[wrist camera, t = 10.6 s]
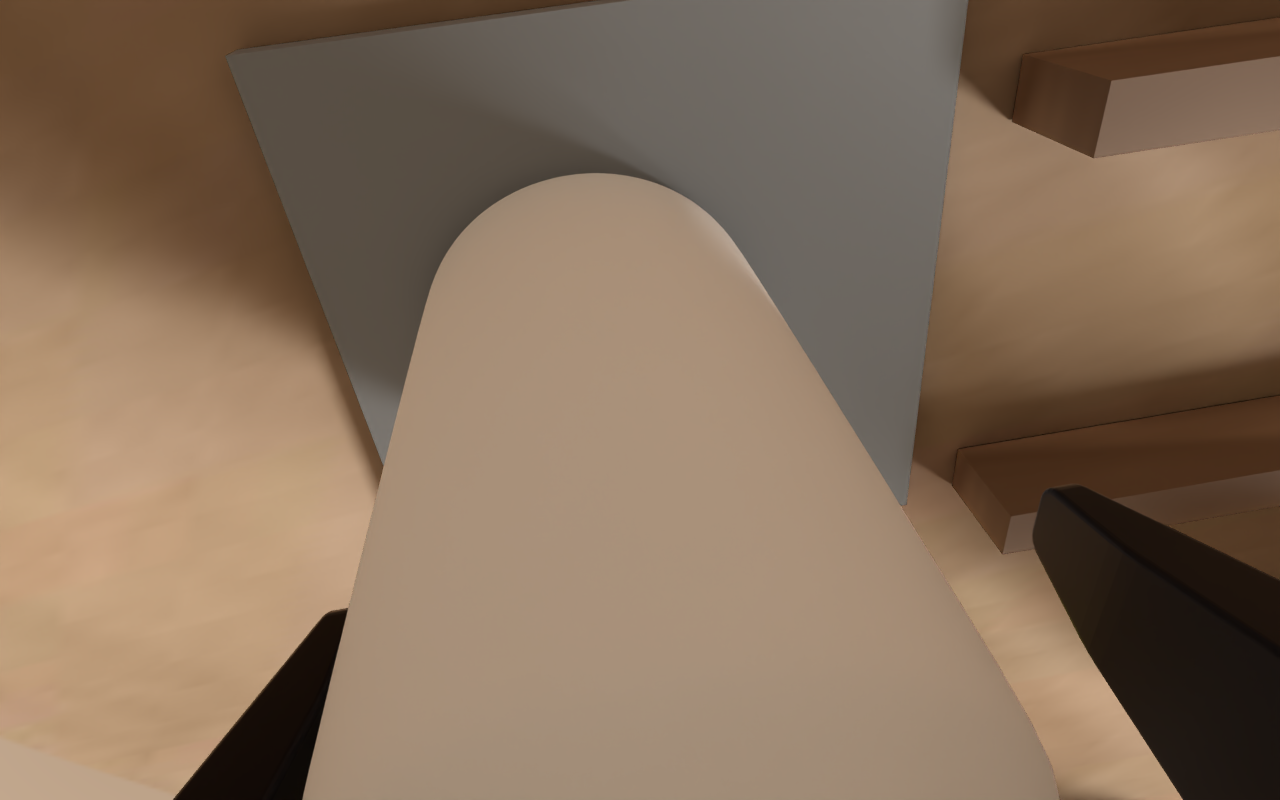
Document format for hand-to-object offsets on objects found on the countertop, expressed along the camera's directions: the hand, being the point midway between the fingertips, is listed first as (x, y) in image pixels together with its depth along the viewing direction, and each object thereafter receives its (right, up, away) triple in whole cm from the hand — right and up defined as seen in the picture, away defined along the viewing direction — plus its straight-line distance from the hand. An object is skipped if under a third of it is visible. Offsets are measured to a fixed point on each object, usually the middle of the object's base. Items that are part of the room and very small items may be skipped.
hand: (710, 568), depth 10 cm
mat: (-1, +4, +6) cm, 7 cm away
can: (-2, +4, +5) cm, 7 cm away
